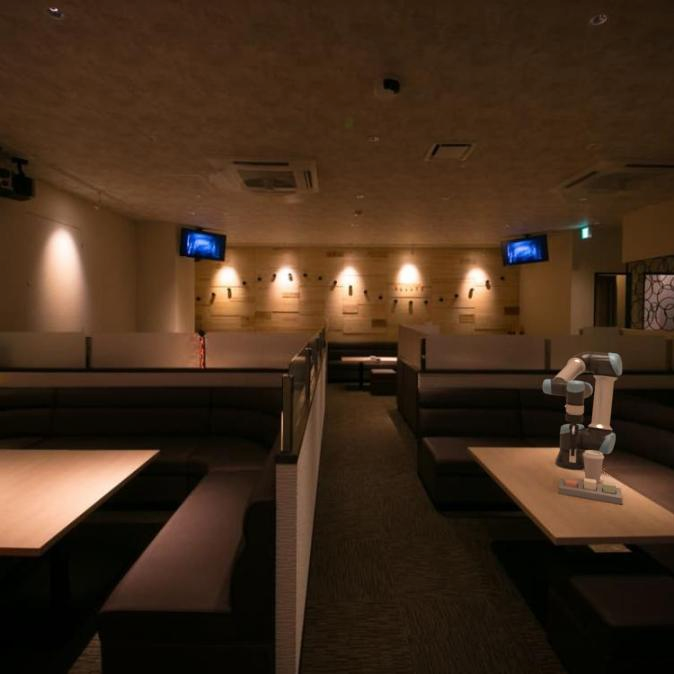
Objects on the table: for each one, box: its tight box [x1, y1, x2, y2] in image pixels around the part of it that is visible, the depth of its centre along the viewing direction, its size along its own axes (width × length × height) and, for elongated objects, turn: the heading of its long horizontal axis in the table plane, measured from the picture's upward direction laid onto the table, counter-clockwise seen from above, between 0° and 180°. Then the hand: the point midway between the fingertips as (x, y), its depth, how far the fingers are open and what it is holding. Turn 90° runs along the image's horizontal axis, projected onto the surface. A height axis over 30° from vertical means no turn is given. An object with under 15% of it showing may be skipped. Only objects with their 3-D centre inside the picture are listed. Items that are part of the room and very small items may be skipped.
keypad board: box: [558, 478, 623, 506], centre depth 229 cm, size 14×26×3 cm, turn 62°
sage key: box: [602, 480, 617, 494], centre depth 225 cm, size 5×5×4 cm
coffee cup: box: [583, 450, 605, 485], centre depth 246 cm, size 10×10×15 cm
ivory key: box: [583, 477, 596, 490], centre depth 229 cm, size 5×5×4 cm
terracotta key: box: [565, 478, 578, 488], centre depth 233 cm, size 5×5×4 cm
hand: (572, 461), depth 232 cm, fingers closed
